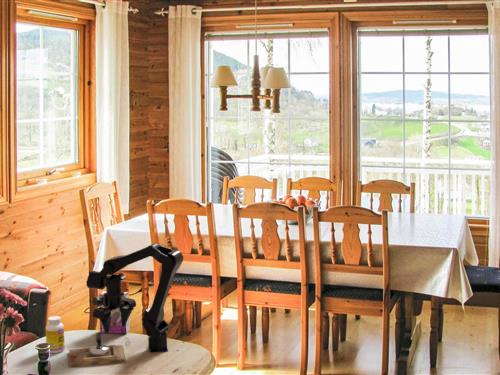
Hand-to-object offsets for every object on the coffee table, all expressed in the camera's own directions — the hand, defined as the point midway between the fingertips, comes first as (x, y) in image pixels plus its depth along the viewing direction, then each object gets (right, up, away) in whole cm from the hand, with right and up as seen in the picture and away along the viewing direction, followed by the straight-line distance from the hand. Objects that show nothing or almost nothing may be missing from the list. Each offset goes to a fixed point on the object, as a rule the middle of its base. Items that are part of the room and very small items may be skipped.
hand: (115, 329), depth 298 cm
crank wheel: (-4, -6, -12) cm, 14 cm away
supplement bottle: (-22, -7, -5) cm, 23 cm away
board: (-5, -8, -13) cm, 16 cm away
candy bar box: (-3, -4, +15) cm, 16 cm away
